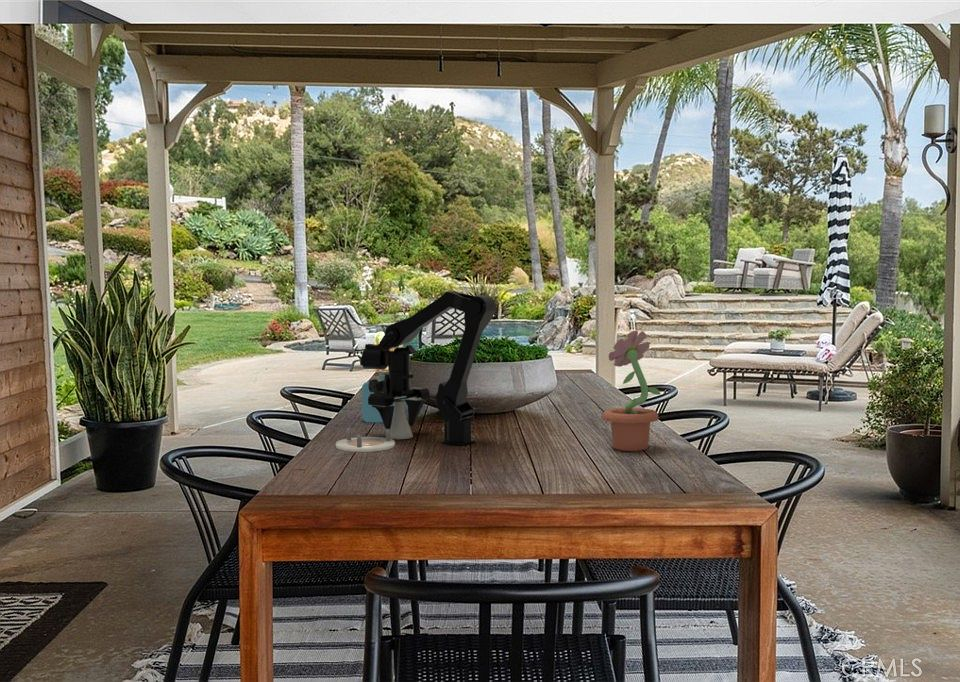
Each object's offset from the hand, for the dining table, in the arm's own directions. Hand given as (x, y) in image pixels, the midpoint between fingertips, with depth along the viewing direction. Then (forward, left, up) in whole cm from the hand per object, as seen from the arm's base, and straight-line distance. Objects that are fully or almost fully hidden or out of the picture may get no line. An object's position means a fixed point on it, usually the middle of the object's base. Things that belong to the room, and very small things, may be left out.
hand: (399, 428), depth 245 cm
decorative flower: (-57, -24, -3) cm, 62 cm away
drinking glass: (+33, -34, -3) cm, 47 cm away
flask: (0, 0, -3) cm, 3 cm away
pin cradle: (-1, +14, -2) cm, 14 cm away
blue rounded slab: (+21, -16, -3) cm, 27 cm away
